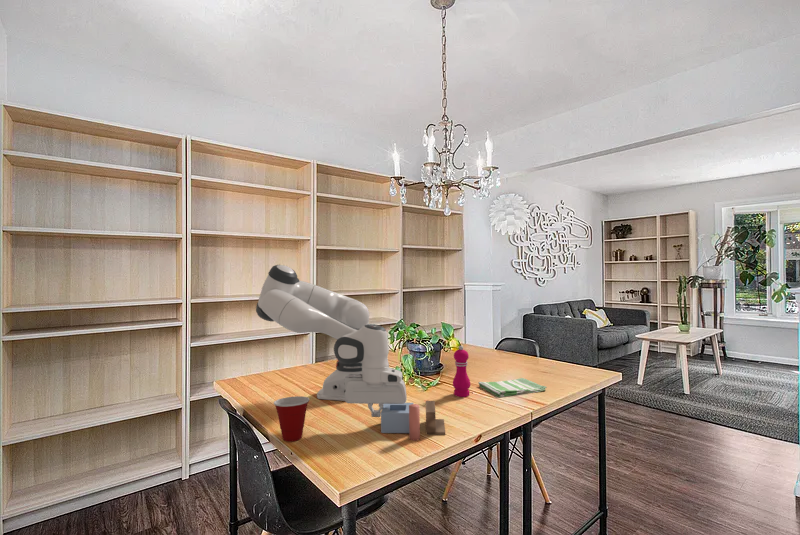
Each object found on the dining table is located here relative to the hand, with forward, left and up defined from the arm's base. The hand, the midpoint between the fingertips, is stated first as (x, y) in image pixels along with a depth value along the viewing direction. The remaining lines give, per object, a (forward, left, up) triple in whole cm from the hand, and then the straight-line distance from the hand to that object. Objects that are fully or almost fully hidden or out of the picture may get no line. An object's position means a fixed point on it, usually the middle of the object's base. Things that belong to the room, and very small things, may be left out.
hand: (376, 416), depth 137 cm
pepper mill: (+31, +35, -4) cm, 47 cm away
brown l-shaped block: (+19, 0, -4) cm, 20 cm away
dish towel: (+53, +44, -4) cm, 69 cm away
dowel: (+13, -8, -4) cm, 16 cm away
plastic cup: (-25, -9, -4) cm, 27 cm away
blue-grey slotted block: (+7, 0, -4) cm, 8 cm away
